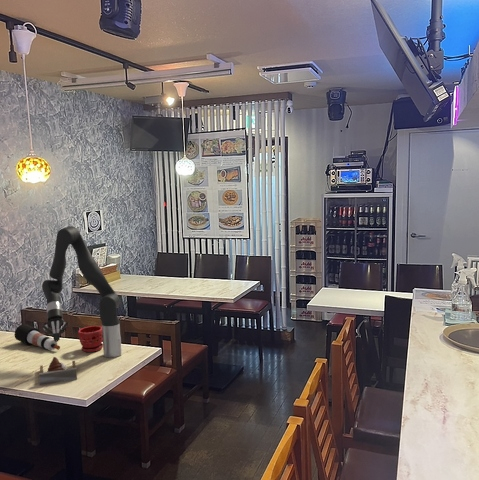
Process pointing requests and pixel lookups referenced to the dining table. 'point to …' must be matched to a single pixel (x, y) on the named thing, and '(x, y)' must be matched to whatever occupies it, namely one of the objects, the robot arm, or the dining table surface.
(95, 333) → the plant pot
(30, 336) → the cable
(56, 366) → the poop emoji
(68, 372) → the guide channel
